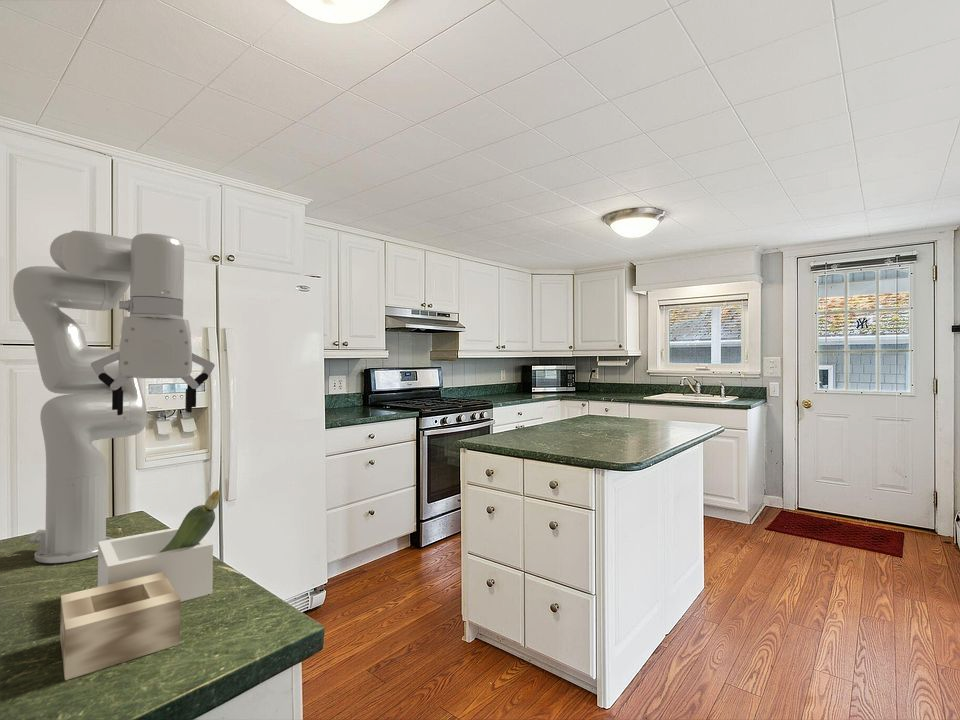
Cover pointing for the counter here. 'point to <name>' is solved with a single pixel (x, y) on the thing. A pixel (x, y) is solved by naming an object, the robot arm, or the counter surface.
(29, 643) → the counter surface
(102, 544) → the bin
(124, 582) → the holder
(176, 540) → the vegetable
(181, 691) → the counter surface
